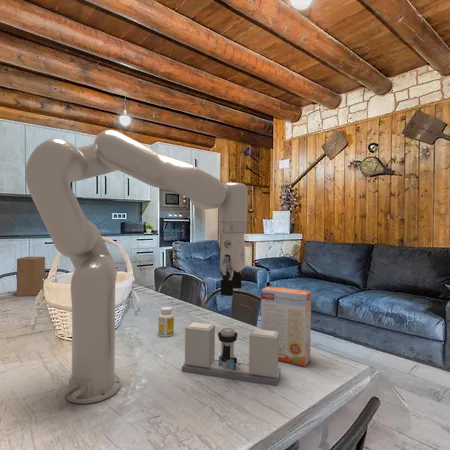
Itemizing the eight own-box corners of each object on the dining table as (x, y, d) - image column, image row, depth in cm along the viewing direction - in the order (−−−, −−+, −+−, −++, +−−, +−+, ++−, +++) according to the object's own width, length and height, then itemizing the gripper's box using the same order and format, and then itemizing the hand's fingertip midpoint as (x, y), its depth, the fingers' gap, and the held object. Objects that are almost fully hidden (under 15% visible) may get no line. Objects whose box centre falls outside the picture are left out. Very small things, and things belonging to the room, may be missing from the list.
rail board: (277, 385, 79) (278, 338, 79) (181, 371, 86) (182, 327, 86) (280, 373, 86) (280, 329, 86) (191, 360, 93) (191, 320, 93)
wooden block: (16, 296, 166) (16, 258, 166) (26, 292, 176) (26, 256, 176) (36, 296, 167) (36, 258, 167) (45, 292, 177) (45, 256, 177)
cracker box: (310, 360, 94) (312, 290, 94) (305, 367, 89) (306, 294, 89) (267, 349, 101) (268, 285, 101) (259, 356, 96) (260, 288, 96)
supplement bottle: (157, 337, 111) (157, 310, 110) (159, 332, 116) (159, 306, 116) (173, 337, 111) (173, 310, 111) (174, 331, 116) (174, 306, 116)
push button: (244, 367, 85) (245, 330, 85) (234, 375, 81) (234, 336, 81) (224, 360, 89) (225, 325, 89) (213, 367, 85) (214, 331, 85)
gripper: (239, 229, 76) (237, 300, 76) (252, 228, 93) (251, 286, 93) (209, 228, 78) (208, 297, 78) (227, 228, 95) (226, 284, 95)
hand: (231, 291), depth 86 cm, fingers open, 9 cm apart
